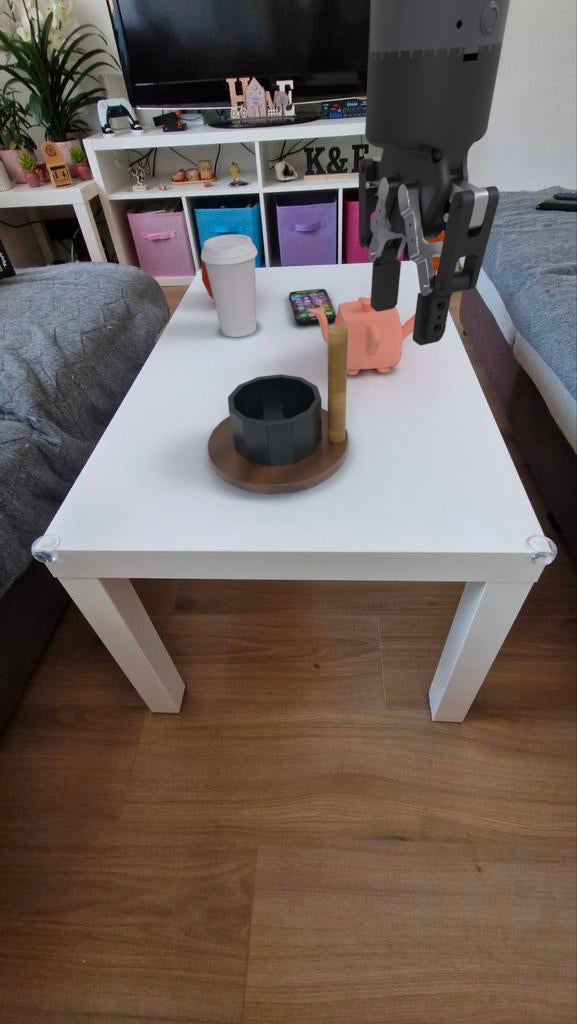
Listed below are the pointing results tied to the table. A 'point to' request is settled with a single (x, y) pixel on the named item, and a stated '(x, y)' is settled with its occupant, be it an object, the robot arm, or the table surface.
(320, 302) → the smartphone
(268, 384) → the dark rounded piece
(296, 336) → the table surface
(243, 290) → the coffee cup
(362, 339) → the teapot
